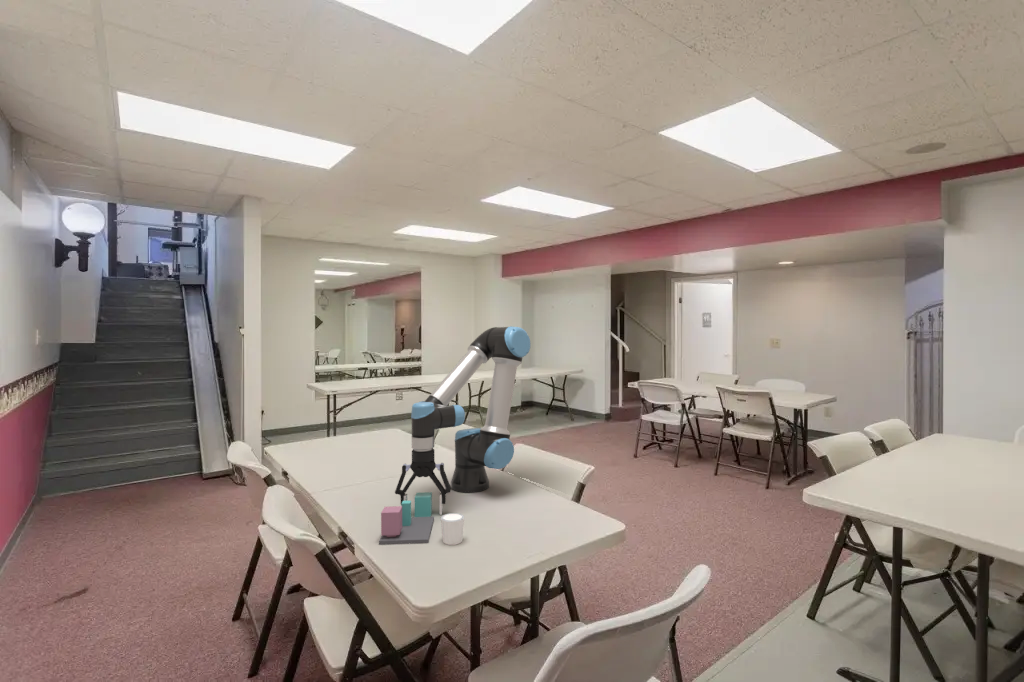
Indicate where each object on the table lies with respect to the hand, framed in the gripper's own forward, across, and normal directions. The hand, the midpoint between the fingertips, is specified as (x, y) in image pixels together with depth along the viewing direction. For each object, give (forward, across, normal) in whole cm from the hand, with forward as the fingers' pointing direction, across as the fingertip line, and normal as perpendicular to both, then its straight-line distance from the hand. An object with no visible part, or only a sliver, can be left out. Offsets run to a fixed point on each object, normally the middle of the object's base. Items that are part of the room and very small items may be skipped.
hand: (423, 513), depth 161 cm
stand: (0, +3, +14) cm, 14 cm away
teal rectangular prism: (0, 0, 0) cm, 0 cm away
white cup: (0, -11, +22) cm, 25 cm away
